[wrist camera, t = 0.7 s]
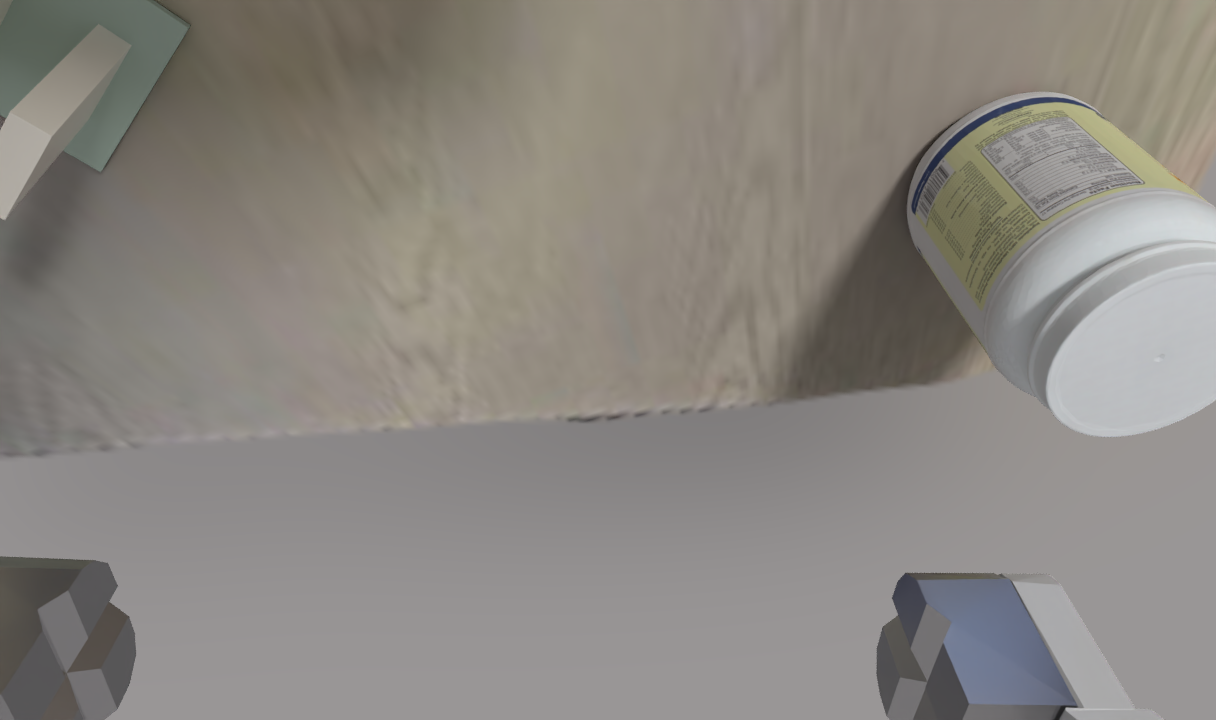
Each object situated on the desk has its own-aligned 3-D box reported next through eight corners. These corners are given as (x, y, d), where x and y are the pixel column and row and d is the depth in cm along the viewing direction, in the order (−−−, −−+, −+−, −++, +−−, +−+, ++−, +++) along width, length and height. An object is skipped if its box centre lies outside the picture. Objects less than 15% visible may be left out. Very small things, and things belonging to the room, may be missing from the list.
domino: (56, 100, 44) (-36, 199, 37) (98, 23, 42) (9, 111, 35) (88, 119, 45) (4, 220, 38) (131, 45, 43) (52, 136, 36)
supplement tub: (1106, 221, 56) (1288, 401, 43) (916, 291, 58) (1036, 482, 45) (1099, 46, 48) (1317, 200, 35) (881, 134, 51) (1012, 309, 38)
